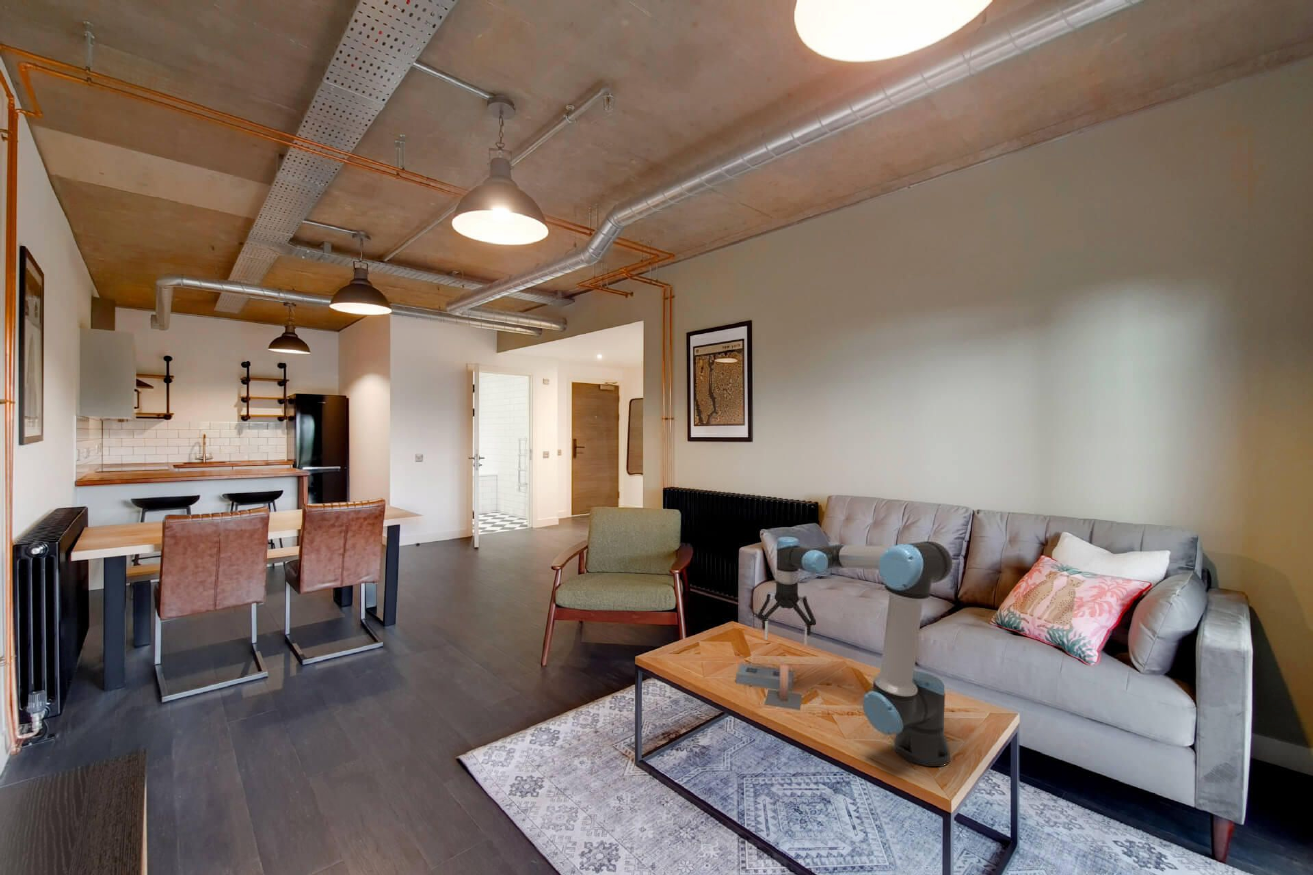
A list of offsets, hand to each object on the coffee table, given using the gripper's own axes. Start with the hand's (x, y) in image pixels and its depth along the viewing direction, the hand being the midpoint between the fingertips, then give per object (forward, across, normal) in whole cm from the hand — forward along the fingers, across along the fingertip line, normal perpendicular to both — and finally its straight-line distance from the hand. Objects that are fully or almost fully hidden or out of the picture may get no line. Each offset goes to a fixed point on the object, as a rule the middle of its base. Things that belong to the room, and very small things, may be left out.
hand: (785, 641), depth 199 cm
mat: (+21, 0, +1) cm, 21 cm away
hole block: (+21, +8, -11) cm, 25 cm away
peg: (+20, 0, +1) cm, 21 cm away
